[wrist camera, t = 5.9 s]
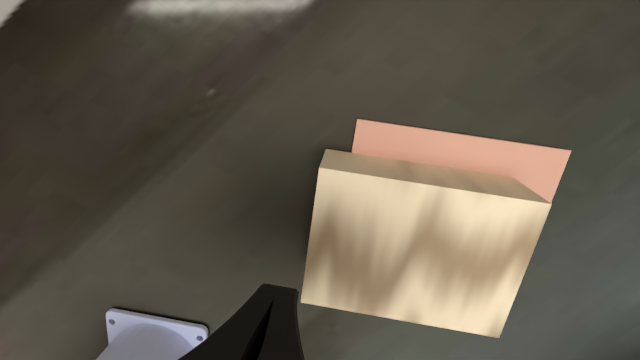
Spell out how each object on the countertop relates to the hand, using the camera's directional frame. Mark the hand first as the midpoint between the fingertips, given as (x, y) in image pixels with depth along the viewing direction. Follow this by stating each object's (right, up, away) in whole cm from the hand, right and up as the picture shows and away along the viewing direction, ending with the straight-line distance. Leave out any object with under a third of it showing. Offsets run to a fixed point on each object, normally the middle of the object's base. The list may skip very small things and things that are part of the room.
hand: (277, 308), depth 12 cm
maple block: (+1, +2, +7) cm, 7 cm away
